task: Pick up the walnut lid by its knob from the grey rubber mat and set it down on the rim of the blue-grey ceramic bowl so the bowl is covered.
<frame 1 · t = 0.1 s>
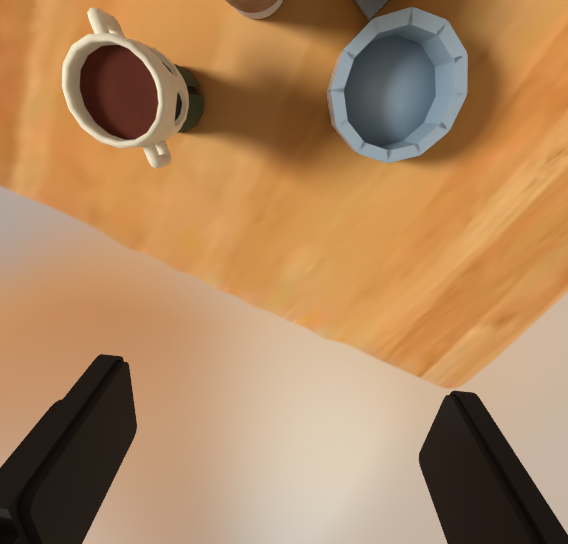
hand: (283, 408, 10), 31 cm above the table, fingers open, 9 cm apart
character mug: (176, 99, 34), on the table
bowl: (384, 94, 33), on the table
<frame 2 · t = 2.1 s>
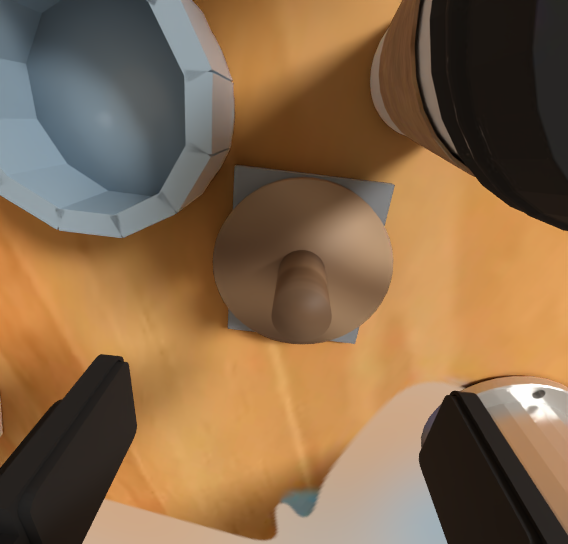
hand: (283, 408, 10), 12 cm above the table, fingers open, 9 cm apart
mat: (301, 261, 21), on the table
coffee cup: (427, 74, 17), on the table
lid: (301, 264, 21), point 1 cm above the table, touching mat
bowl: (128, 103, 18), on the table
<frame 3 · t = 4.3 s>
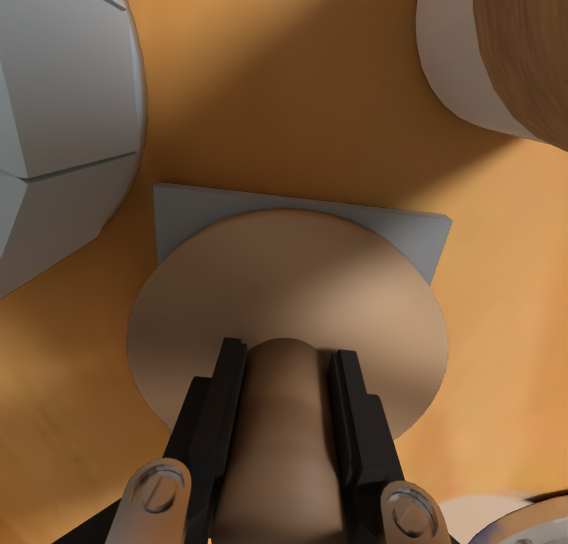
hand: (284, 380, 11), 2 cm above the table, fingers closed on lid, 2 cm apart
mat: (284, 338, 13), on the table
coffee cup: (532, 0, 8), on the table
lid: (285, 351, 12), point 1 cm above the table, touching gripper
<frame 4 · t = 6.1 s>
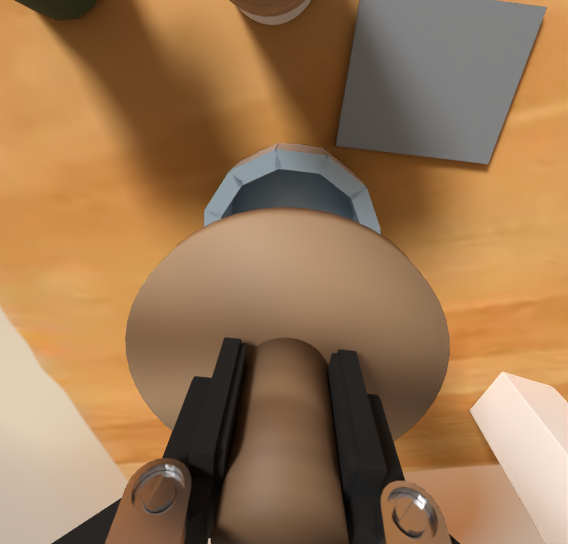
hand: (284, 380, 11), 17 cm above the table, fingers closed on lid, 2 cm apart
mat: (428, 83, 22), on the table
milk: (508, 396, 34), on the table
lid: (286, 351, 12), point 16 cm above the table, touching gripper
bowl: (291, 220, 26), on the table
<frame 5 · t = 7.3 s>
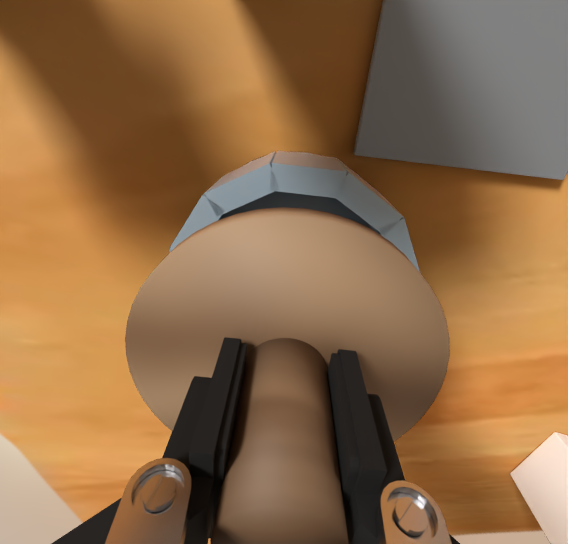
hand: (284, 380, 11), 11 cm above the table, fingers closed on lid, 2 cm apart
mat: (487, 67, 15), on the table
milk: (558, 458, 28), on the table
lid: (286, 351, 12), point 9 cm above the table, touching gripper
bowl: (293, 251, 20), on the table
when the fingers open (8 cm above the table, at t = 8.4 s): lid drops 2 cm, resting on bowl.
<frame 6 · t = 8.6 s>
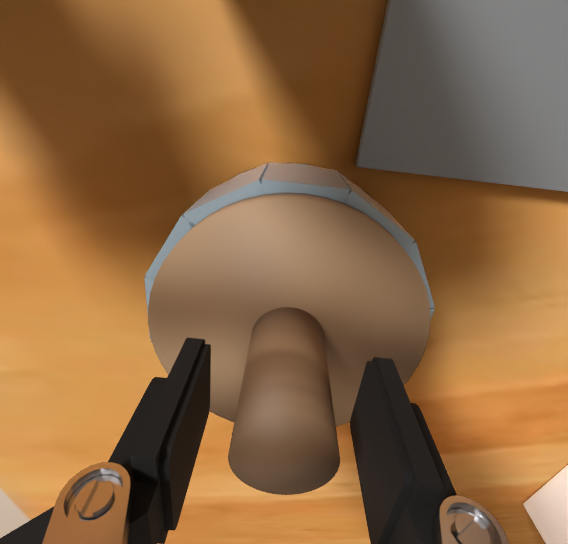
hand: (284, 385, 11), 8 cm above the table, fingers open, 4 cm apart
mat: (507, 69, 14), on the table
lid: (287, 322, 14), point 5 cm above the table, touching bowl
bowl: (288, 271, 18), on the table
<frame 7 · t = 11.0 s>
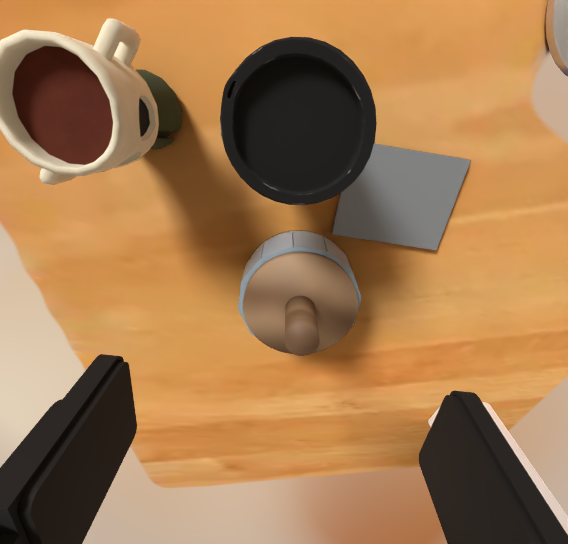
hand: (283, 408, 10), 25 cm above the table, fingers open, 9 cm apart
mat: (396, 197, 32), on the table
character mug: (149, 111, 29), on the table
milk: (457, 411, 45), on the table
coffee cup: (294, 124, 30), on the table
lid: (299, 303, 32), point 5 cm above the table, touching bowl
bowl: (297, 280, 36), on the table
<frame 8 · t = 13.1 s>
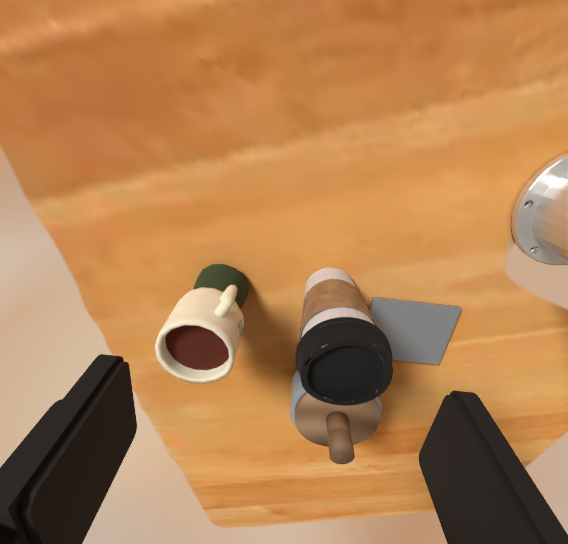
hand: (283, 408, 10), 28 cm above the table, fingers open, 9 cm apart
mat: (406, 331, 43), on the table
character mug: (224, 283, 40), on the table
coffee cup: (329, 287, 40), on the table
lid: (336, 412, 43), point 5 cm above the table, touching bowl
bowl: (331, 384, 47), on the table
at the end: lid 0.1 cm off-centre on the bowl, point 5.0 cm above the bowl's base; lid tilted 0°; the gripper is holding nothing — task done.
